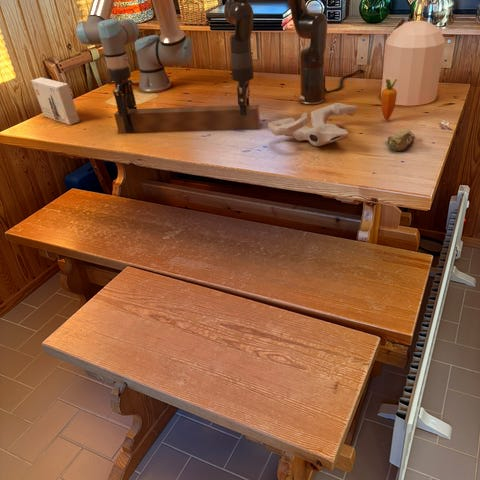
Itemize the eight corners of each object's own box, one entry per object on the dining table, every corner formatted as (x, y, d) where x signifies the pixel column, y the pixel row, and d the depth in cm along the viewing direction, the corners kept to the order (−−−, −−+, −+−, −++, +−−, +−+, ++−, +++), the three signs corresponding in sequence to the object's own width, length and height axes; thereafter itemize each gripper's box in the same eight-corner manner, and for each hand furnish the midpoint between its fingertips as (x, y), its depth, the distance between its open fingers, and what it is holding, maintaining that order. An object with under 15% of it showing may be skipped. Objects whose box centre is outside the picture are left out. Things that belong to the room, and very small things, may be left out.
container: (406, 109, 173) (416, 29, 157) (369, 95, 189) (375, 21, 173) (448, 97, 179) (462, 19, 163) (409, 85, 195) (418, 12, 180)
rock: (408, 140, 153) (379, 139, 152) (414, 122, 149) (384, 120, 148) (421, 154, 144) (391, 153, 143) (428, 135, 140) (396, 133, 139)
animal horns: (266, 154, 150) (264, 118, 144) (276, 126, 172) (275, 94, 165) (355, 154, 144) (357, 117, 138) (355, 125, 166) (356, 92, 159)
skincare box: (42, 117, 201) (30, 80, 192) (53, 113, 205) (42, 76, 196) (69, 125, 189) (57, 86, 180) (80, 121, 193) (69, 82, 184)
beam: (118, 133, 178) (114, 114, 174) (123, 128, 182) (118, 109, 178) (258, 129, 170) (257, 109, 165) (259, 124, 174) (258, 104, 169)
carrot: (394, 118, 167) (398, 76, 158) (393, 123, 163) (397, 80, 154) (379, 117, 168) (383, 75, 160) (378, 122, 165) (382, 80, 156)
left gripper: (119, 74, 158) (133, 138, 171) (136, 60, 173) (148, 120, 186) (98, 75, 159) (114, 138, 172) (117, 61, 174) (130, 120, 187)
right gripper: (250, 70, 153) (253, 117, 162) (254, 59, 165) (257, 104, 174) (228, 71, 154) (232, 118, 163) (234, 60, 166) (237, 105, 175)
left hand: (132, 129), depth 179 cm, fingers closed on beam, 5 cm apart
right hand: (245, 111), depth 169 cm, fingers open, 8 cm apart
